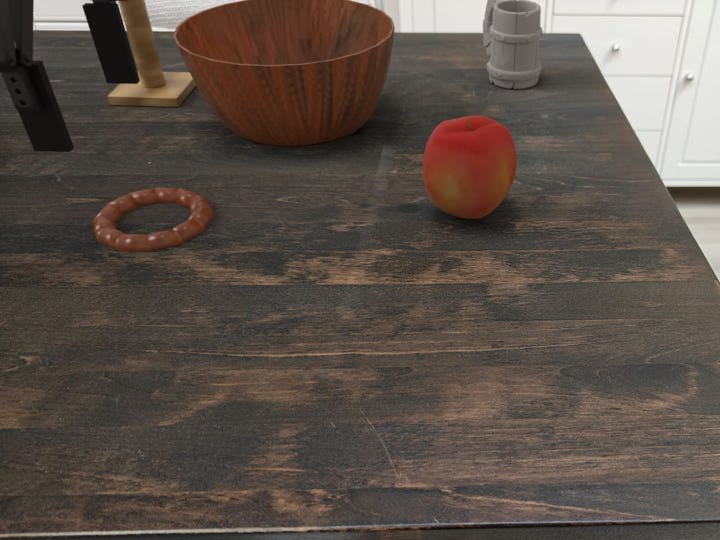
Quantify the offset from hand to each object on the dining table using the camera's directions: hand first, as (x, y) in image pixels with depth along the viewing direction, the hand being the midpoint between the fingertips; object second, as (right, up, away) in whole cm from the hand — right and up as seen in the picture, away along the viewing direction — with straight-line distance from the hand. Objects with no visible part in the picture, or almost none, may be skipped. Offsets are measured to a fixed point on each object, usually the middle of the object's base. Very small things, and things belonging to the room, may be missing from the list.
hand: (92, 113), depth 61 cm
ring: (0, -7, +12) cm, 14 cm away
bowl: (+9, +9, +32) cm, 35 cm away
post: (-11, +15, +38) cm, 43 cm away
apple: (+31, -5, +16) cm, 35 cm away
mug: (+36, +20, +46) cm, 62 cm away
